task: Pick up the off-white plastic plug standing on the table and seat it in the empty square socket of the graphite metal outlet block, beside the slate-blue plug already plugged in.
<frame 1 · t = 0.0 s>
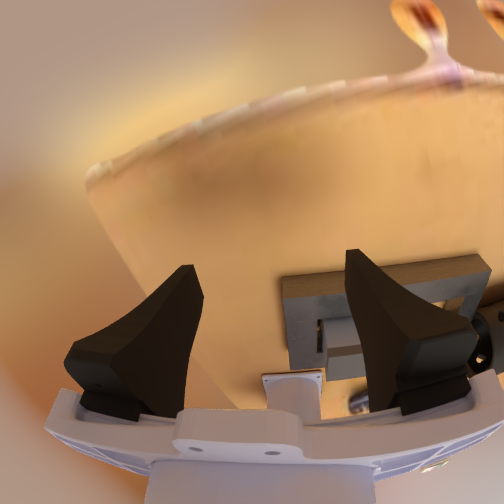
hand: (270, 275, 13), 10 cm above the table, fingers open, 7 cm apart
twin plug: (338, 312, 28), resting in outlet block
outlet block: (387, 306, 27), on the table
syrup box: (422, 407, 43), on the table
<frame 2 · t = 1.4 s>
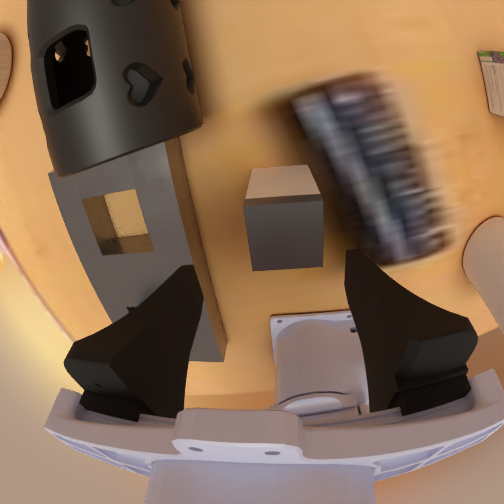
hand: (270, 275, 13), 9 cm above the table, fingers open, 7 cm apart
pill bottle: (486, 246, 22), on the table
plug: (282, 191, 21), on the table
outlet block: (150, 262, 25), on the table
syrup box: (501, 83, 13), on the table
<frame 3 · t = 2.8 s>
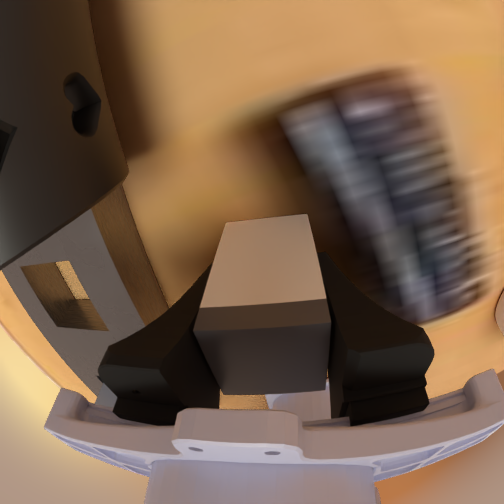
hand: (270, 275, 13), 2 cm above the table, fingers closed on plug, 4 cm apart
twin plug: (143, 368, 22), resting in outlet block
plug: (271, 252, 15), on the table, touching gripper
outlet block: (115, 327, 19), on the table
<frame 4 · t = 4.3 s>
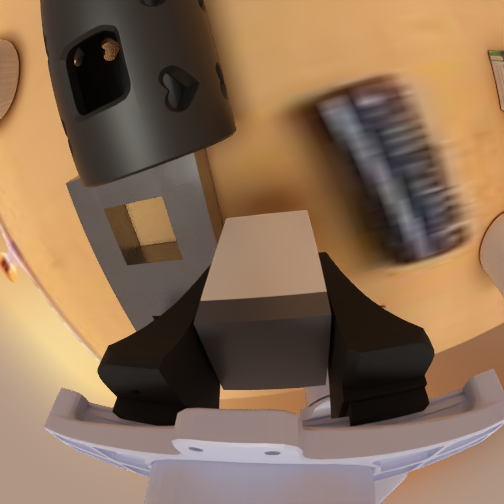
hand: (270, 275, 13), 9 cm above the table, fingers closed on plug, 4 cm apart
pill bottle: (501, 240, 21), on the table
plug: (271, 248, 15), point 7 cm above the table, touching gripper
outlet block: (175, 269, 25), on the table
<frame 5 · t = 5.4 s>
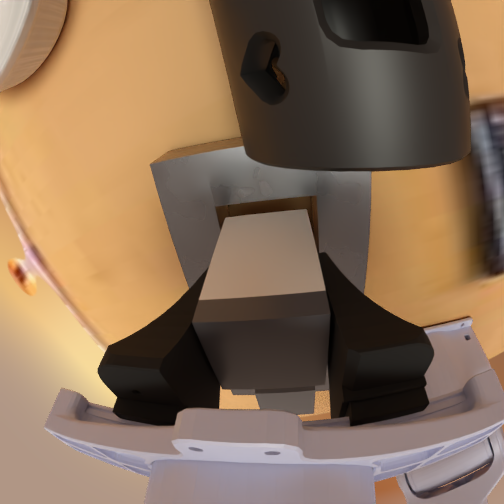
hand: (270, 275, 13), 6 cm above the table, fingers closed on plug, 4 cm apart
twin plug: (285, 334, 24), resting in outlet block
plug: (270, 247, 15), point 4 cm above the table, touching gripper
ramekin: (30, 29, 10), on the table
outlet block: (280, 286, 21), on the table
when the fingers open (4 cm above the table, at t = 6.1 s): plug drops 2 cm, resting in outlet block.
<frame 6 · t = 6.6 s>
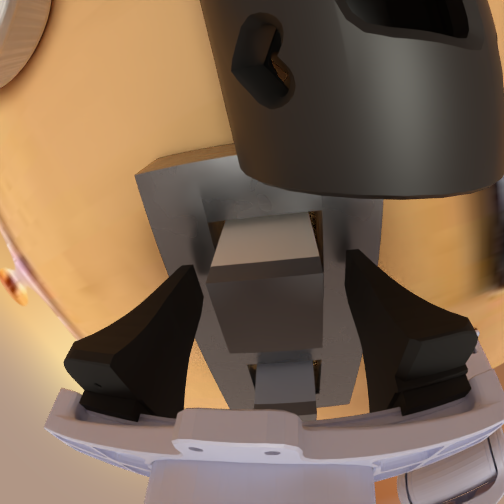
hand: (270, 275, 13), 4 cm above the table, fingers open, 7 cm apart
twin plug: (286, 350, 22), resting in outlet block
plug: (271, 230, 16), resting in outlet block
ramekin: (14, 29, 8), on the table
outlet block: (280, 303, 19), on the table
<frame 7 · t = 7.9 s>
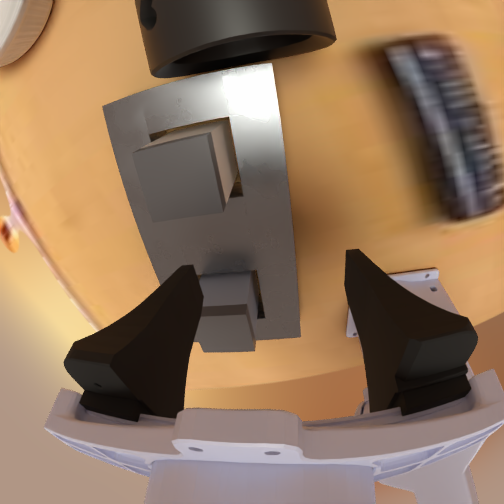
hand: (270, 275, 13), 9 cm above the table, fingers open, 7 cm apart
twin plug: (233, 275, 25), resting in outlet block
plug: (206, 150, 19), resting in outlet block
ramekin: (24, 19, 11), on the table
outlet block: (220, 220, 22), on the table
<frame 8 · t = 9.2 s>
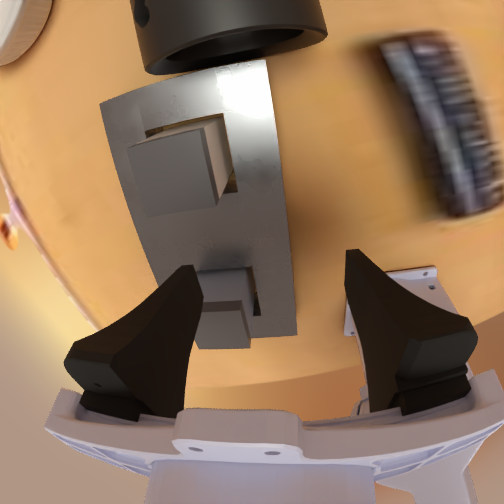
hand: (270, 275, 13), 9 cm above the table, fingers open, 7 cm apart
twin plug: (229, 272, 25), resting in outlet block
plug: (201, 147, 19), resting in outlet block
ramekin: (24, 19, 11), on the table
outlet block: (216, 217, 22), on the table
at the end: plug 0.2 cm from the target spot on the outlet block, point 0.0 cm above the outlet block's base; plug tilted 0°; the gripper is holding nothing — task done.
